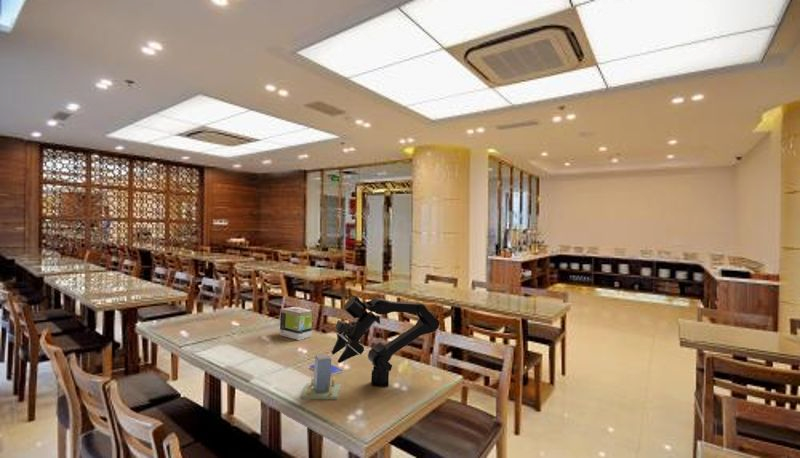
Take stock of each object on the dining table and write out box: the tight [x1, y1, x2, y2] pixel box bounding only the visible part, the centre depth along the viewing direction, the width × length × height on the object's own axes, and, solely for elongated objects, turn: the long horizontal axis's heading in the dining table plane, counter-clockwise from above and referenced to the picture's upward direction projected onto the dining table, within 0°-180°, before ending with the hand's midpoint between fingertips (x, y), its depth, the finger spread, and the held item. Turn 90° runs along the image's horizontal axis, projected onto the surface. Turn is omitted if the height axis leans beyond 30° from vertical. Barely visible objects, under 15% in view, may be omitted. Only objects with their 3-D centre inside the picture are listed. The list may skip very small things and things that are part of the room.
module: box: [313, 353, 332, 393], centre depth 145 cm, size 5×5×13 cm
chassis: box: [300, 377, 341, 400], centre depth 145 cm, size 13×11×4 cm
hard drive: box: [309, 364, 344, 376], centre depth 167 cm, size 2×8×12 cm
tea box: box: [279, 306, 313, 341], centre depth 214 cm, size 15×10×15 cm
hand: (335, 357), depth 149 cm, fingers open, 9 cm apart
